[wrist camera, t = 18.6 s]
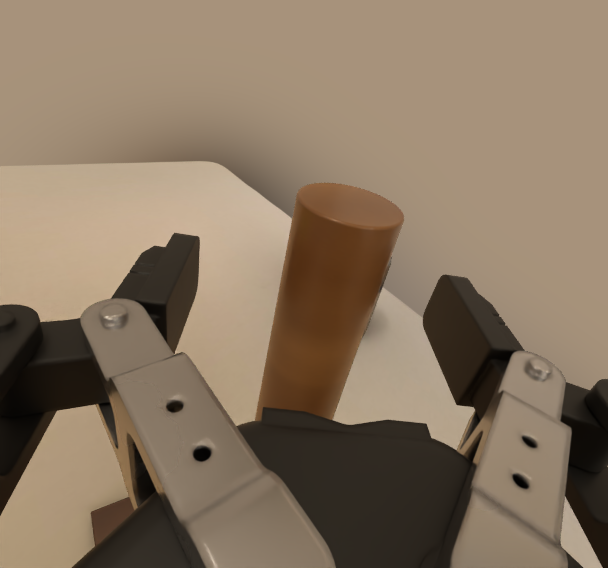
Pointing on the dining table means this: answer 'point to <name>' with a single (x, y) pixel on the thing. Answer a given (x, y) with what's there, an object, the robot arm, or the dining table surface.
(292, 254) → the cylinder
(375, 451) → the robot arm
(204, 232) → the dining table surface
